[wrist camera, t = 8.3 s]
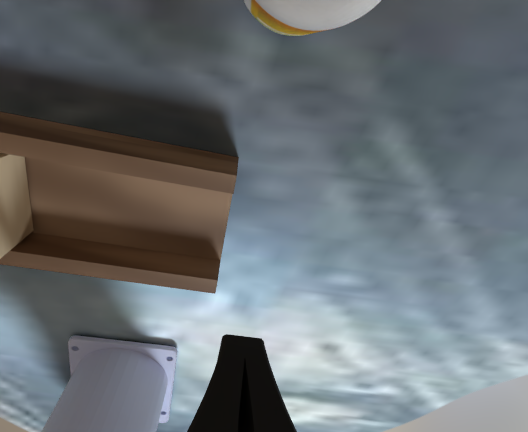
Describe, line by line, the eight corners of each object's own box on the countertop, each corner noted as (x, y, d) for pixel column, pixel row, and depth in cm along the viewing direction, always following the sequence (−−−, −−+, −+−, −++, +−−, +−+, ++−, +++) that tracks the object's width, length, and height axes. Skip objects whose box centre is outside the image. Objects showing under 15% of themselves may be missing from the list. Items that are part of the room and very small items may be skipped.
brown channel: (219, 263, 22) (215, 293, 20) (-75, 220, 20) (-126, 247, 17) (238, 157, 19) (236, 175, 16) (-114, 90, 16) (-184, 98, 14)
